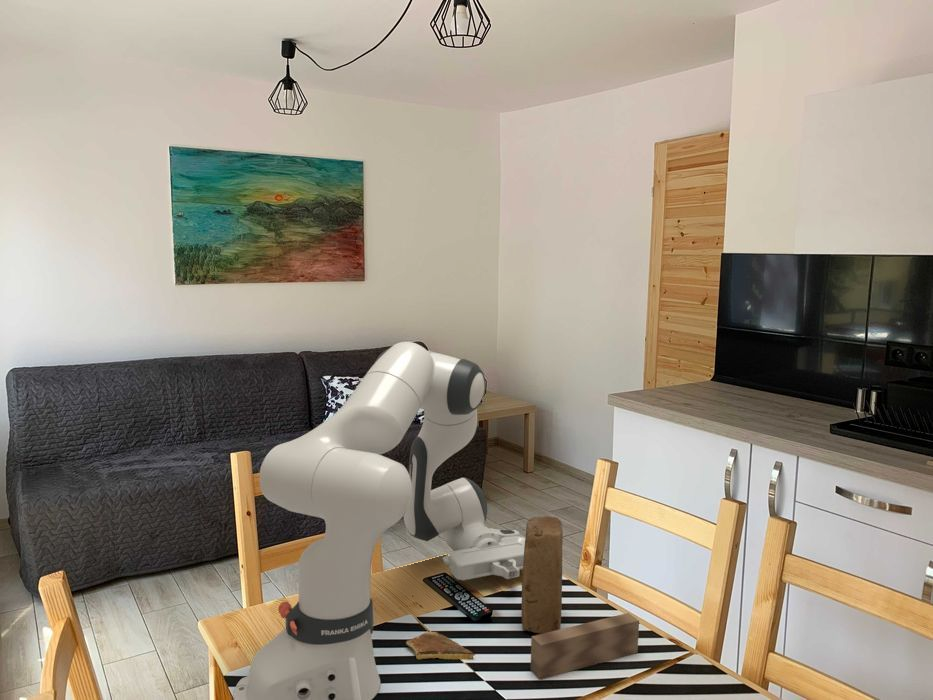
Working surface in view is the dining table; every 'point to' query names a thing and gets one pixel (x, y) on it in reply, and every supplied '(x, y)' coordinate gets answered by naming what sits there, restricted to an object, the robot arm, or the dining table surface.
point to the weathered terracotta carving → (542, 575)
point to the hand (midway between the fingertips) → (513, 574)
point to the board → (584, 645)
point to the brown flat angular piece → (437, 647)
